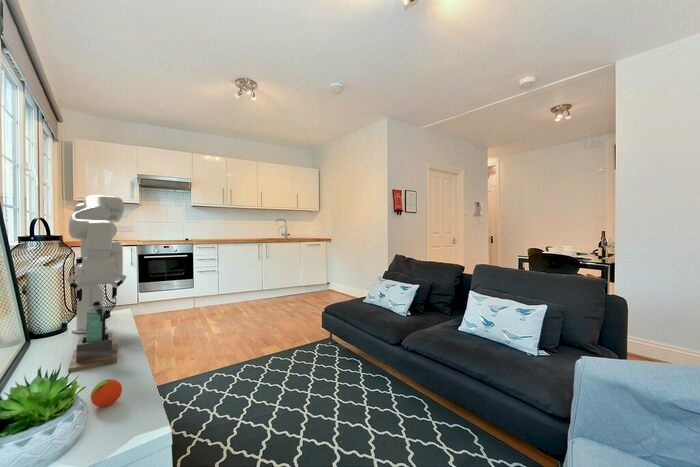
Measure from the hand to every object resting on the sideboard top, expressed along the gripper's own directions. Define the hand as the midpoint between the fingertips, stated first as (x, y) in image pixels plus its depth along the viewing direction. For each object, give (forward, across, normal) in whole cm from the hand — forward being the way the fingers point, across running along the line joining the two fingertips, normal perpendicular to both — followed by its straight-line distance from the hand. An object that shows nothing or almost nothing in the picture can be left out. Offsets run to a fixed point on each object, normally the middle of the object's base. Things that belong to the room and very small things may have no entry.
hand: (97, 299), depth 115 cm
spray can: (+21, 0, +1) cm, 21 cm away
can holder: (+22, 0, +1) cm, 22 cm away
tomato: (+22, -4, +42) cm, 47 cm away
